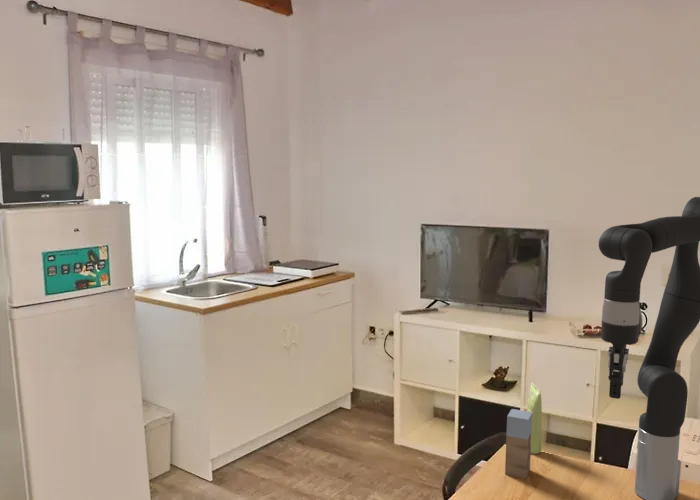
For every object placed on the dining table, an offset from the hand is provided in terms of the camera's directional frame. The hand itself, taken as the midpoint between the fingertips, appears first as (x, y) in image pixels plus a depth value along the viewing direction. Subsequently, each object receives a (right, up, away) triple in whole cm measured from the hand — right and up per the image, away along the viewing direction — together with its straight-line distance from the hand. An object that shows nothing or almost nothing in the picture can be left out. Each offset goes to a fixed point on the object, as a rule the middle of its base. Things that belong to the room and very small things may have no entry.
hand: (616, 391), depth 139 cm
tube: (-6, -27, +44) cm, 52 cm away
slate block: (-13, -18, +30) cm, 38 cm away
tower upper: (-13, -24, +31) cm, 41 cm away
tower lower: (-13, -29, +32) cm, 45 cm away
